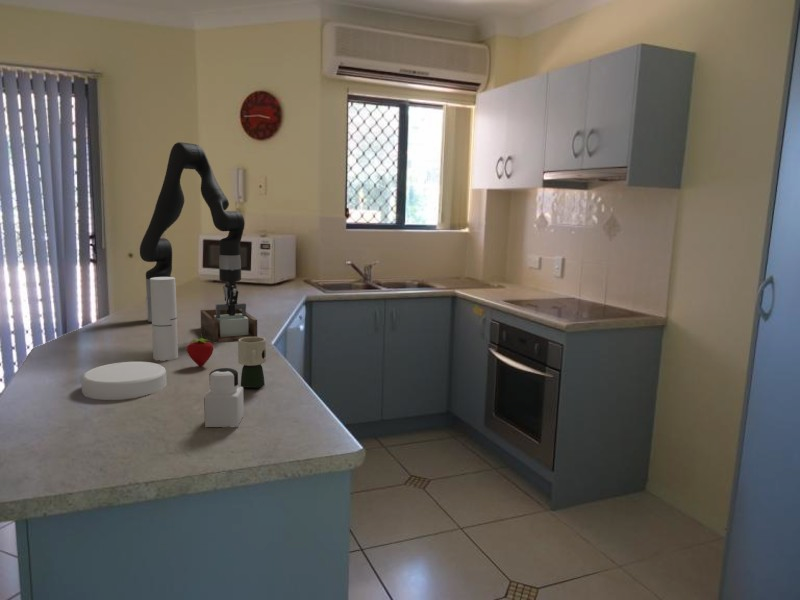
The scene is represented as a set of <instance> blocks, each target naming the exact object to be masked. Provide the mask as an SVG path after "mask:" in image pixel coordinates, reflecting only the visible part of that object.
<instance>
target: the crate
mask: <svg viewBox="0 0 800 600" xmlns="http://www.w3.org/2000/svg"><path fill="white" fill-rule="evenodd" d="M215 309H216V315H214V320H215V321H216V322H217V323H218V335H219V336H220V337H227V336H240V335H249V329H248V318H247V317H246V312H247V304H246V302H243V303H242V302H240V303H239V302H237V304H236V305H235V309H242V314H235V315H234V316H229V314H228V315H220V310H228V304H226V303H220V304H218V303H217V304H215Z"/></svg>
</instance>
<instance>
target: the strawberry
mask: <svg viewBox="0 0 800 600" xmlns="http://www.w3.org/2000/svg"><path fill="white" fill-rule="evenodd" d="M200 335H201V338H199V339H192V342H190V343H189V344H188V345H187V347H186V351H187V352H186V353H187V355H188V357H190V359H191V360H192V361H193V362H194V363H195V365H197V366H198V367H203V366H204V365H205V364H206V363H207V362H208V361H209V359H210V358H211V357H212V355H213V352H214V349H215V348H214V345H213V344H212V343H211V342H210V341H211V340H210V339H209V340H208V339H205V338H203V336H202V334H200Z"/></svg>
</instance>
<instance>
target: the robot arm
mask: <svg viewBox="0 0 800 600" xmlns="http://www.w3.org/2000/svg"><path fill="white" fill-rule="evenodd" d="M184 170H195V172H197V174H198V175H199V177H200V179H201V182H200V194H201V196H202V199H203V200H204V202H205V203H206V205H207V207H208V208H209V210H210V215H211V219H212V222H213V226H215V228H216V229H217V230H218V231H220V232H228V233H227V234H228V235H227V236H226V237H223V238H221V239H220V241H219V259H218V261H219V262H218V263H219V264H218V267H219V268H218V271H219V272H218V273H219V281H220V282H225V283H224V285H223V286H222V289H223V294H224V301H225V304H228V310H227V314H229V316H234V315H235V305H236V304H237V303H238V298H239V290H238V285H237V284H236V283H237V282H239V281H241V280H242V260H241V259H242V258H241V241H242V237H243V233H244V229H245V222H246V221H245V218H244V215H242V213H241V212H240V211H235V210H234V211H233V210H232V211H230V210H229V211H228V208H229V205H230V203H229V200H228V198H227V196H226V195H225V193H224V192H223V190H222V188H221V187H220V185H219V184H218V181H217V179H216V177H215V175H214V174H215V173H214V171H213V169H212V166H211V164H210V162H209V159H208V156H207V154H206V152H205V150H204V148H202V146H201V145H199V144H196V143H190V142H189V143H188V142H179V141H178V142H176V143H174V144H173V146H172V147H171V150H170V153H169V156H168V162H167V166H166V171H165V176H164V178H163V181H162V186H161V188H160V189H161V190H160V192H159V194H158V197H157V200H156V204H155V207H154V210H153V214H152V217H151V219H150V222H149V224H148V226H147V229H146V231H145V233H144V236H143V238H142V239H141V243H140V246H139V255H140V259H141V260H142V261H144V262H147V263H155V262H156V264H155V265H154V266H153V267H152V268H150V269H149V270H147V271H146V272H145V285H146V286H145V288H146V290H145V291H146V297H145V301H146V320H147V322H148V323H152V312H151V289H150V278H154V277H171V274H172V271H173V247H172V244H171V242H170V240H169V239H168V238H164V237H162V236H163V234H164V233H165V232H166V231H167V230H168V229H169V228H170V227H171V226H172V225H173V224H175V222H176V221H177V220H178V219H179V217H180V216H181V214H182V212H183V211H182V210H183V207H184V204H185V196H184V192H183V188H182V186H181V177H182V174H183V172H184Z"/></svg>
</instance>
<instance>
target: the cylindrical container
mask: <svg viewBox="0 0 800 600" xmlns="http://www.w3.org/2000/svg"><path fill="white" fill-rule="evenodd" d="M176 285H177V283H176V277H173V276H172V277H154V278H150V289H151V312H152V322H151V330H152V351H153V353H152V354H153V355H152V356H153V360H154V359H155V360H154V361H158V360H160V361H161V362H163V361H164V362H166V361H165V360H168V361H173V360H176V359H178V358H179V343H178V341H179V340H178V317H177V315H178V313H177V290H176V289H177V288H176V287H177V286H176ZM160 361H159V362H160Z"/></svg>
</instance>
